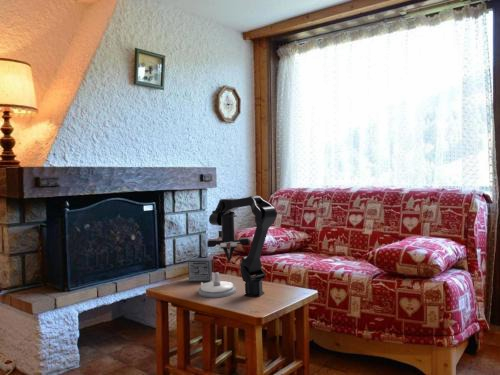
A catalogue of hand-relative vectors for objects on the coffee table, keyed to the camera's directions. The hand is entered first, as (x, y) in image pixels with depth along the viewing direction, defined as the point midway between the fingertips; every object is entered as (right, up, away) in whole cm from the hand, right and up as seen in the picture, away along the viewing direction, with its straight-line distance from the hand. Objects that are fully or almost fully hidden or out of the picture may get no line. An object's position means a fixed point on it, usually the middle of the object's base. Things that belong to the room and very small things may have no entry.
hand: (229, 261), depth 190 cm
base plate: (-5, -12, -6) cm, 15 cm away
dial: (-5, -11, -6) cm, 13 cm away
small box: (-15, -12, +15) cm, 24 cm away
